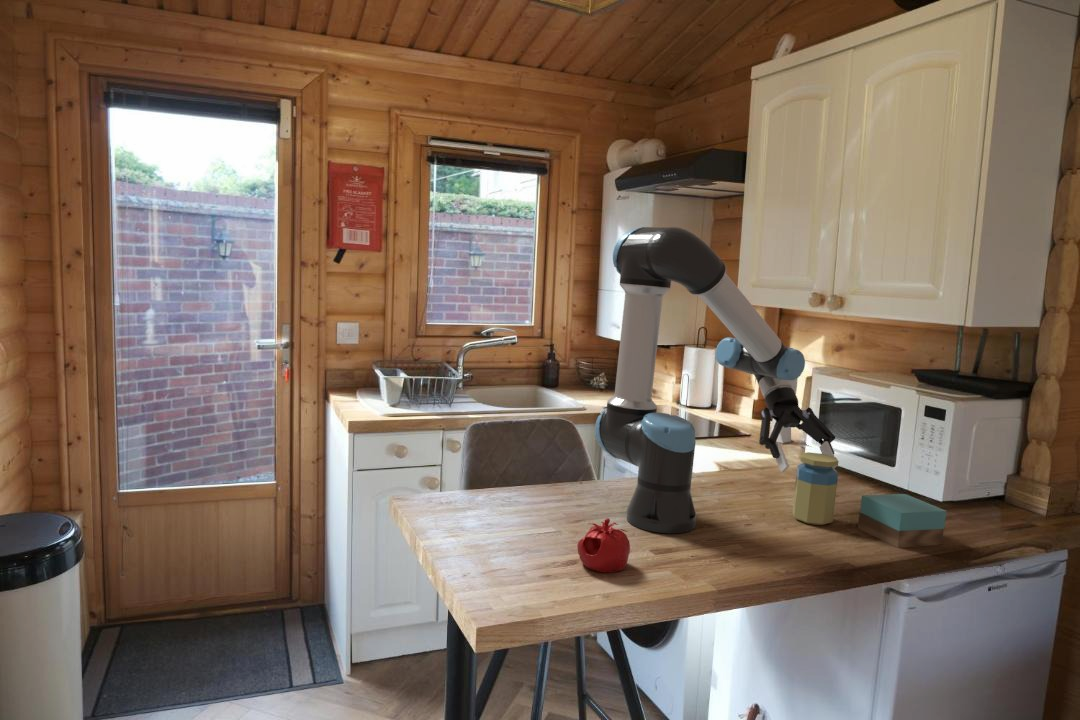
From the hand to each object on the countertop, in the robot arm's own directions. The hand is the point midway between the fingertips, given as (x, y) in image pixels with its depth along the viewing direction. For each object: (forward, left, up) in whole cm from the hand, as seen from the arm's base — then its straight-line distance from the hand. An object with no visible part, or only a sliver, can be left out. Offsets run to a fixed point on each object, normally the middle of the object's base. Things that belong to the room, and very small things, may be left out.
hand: (809, 468), depth 178 cm
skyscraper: (+40, +70, -11) cm, 81 cm away
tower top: (+13, -16, -7) cm, 22 cm away
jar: (-1, -4, -11) cm, 12 cm away
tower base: (+12, -16, -11) cm, 24 cm away
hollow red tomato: (-61, -22, -11) cm, 65 cm away
